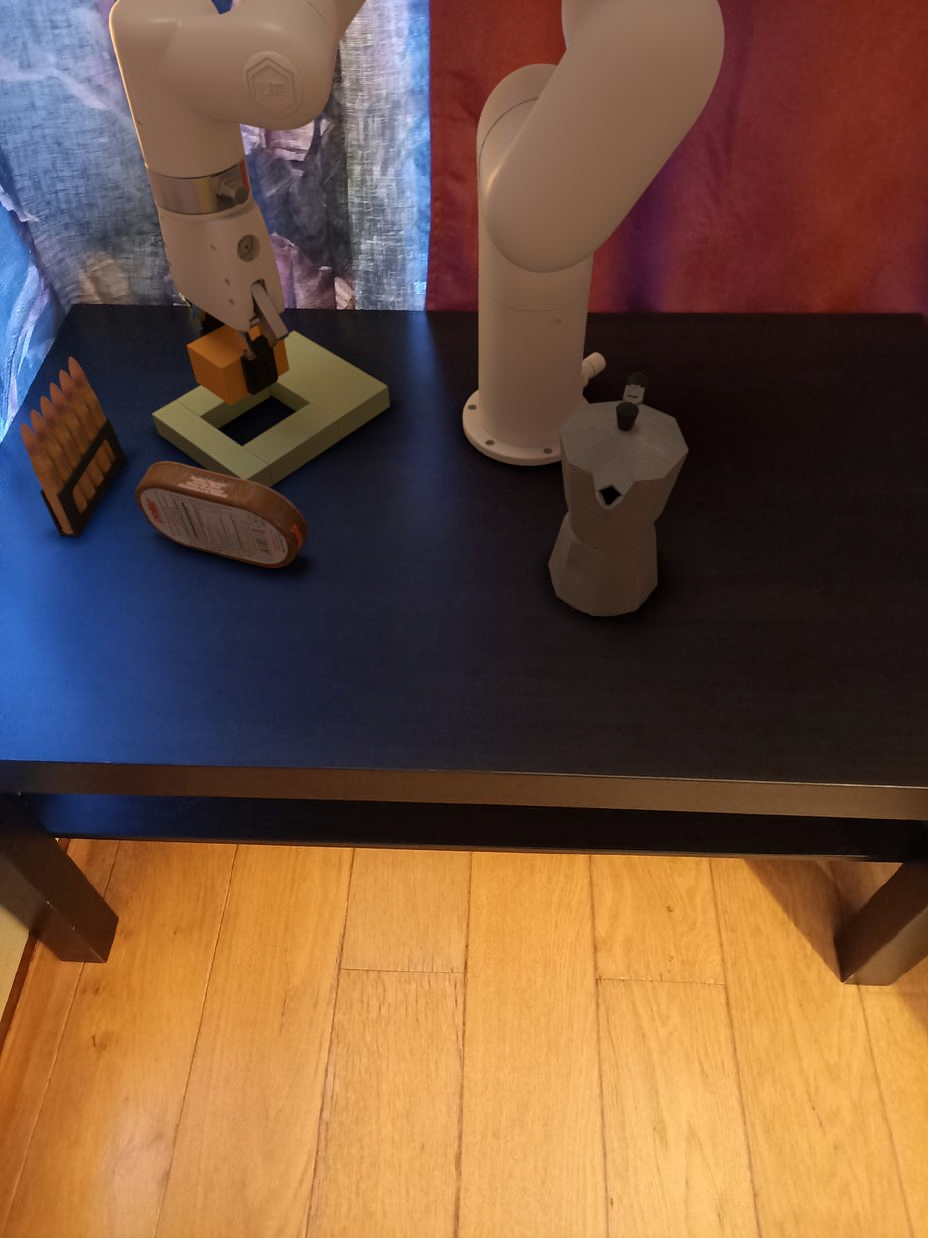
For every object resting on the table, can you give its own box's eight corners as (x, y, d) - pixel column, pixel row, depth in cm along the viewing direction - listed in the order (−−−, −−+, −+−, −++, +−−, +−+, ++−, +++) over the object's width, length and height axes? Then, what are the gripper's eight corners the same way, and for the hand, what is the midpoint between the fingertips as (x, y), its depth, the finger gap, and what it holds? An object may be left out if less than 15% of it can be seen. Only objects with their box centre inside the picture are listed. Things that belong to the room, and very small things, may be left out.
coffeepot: (646, 648, 75) (684, 480, 61) (530, 625, 76) (541, 457, 62) (670, 514, 84) (709, 342, 70) (567, 496, 86) (584, 325, 72)
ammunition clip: (78, 538, 83) (27, 432, 74) (59, 535, 83) (6, 430, 74) (126, 457, 90) (85, 351, 80) (108, 455, 90) (65, 349, 81)
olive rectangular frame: (297, 350, 100) (294, 330, 98) (390, 406, 94) (388, 386, 92) (158, 433, 92) (151, 413, 90) (250, 500, 86) (244, 480, 84)
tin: (316, 557, 81) (301, 486, 75) (300, 584, 80) (284, 513, 73) (164, 518, 85) (137, 446, 78) (145, 543, 83) (116, 471, 76)
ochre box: (230, 405, 84) (221, 368, 81) (196, 382, 86) (186, 345, 83) (289, 370, 88) (283, 333, 84) (255, 348, 90) (247, 311, 87)
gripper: (310, 198, 71) (336, 394, 85) (173, 128, 78) (218, 320, 92) (231, 237, 67) (272, 434, 82) (95, 160, 74) (154, 354, 89)
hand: (243, 372), depth 87 cm, fingers closed on ochre box, 5 cm apart
